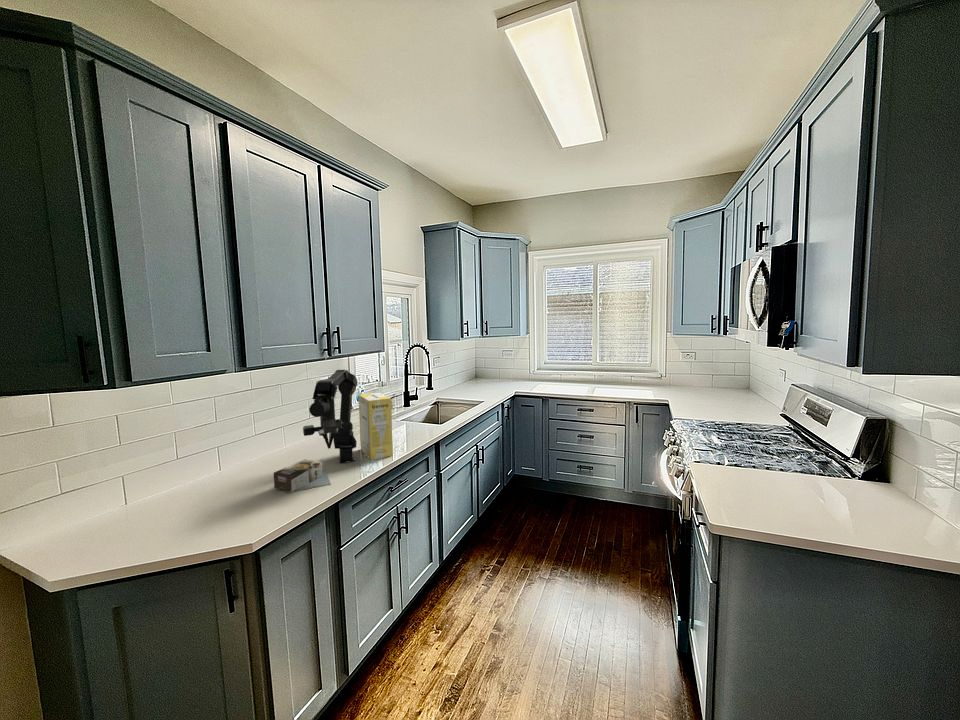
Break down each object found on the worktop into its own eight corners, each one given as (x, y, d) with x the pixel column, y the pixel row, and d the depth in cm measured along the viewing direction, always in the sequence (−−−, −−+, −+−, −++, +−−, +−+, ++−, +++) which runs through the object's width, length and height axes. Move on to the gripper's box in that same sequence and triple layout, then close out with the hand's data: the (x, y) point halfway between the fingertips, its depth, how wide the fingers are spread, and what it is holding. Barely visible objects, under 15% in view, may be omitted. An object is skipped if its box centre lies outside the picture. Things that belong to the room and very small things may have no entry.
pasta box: (360, 449, 201) (358, 394, 198) (381, 445, 206) (379, 392, 203) (371, 459, 185) (368, 400, 182) (392, 455, 191) (391, 398, 188)
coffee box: (322, 462, 164) (291, 476, 149) (322, 476, 165) (291, 492, 150) (304, 458, 167) (273, 472, 152) (304, 473, 168) (273, 488, 153)
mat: (284, 476, 166) (284, 475, 166) (325, 469, 173) (325, 469, 173) (285, 492, 150) (285, 492, 150) (330, 484, 157) (330, 483, 157)
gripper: (304, 418, 152) (306, 457, 153) (354, 412, 160) (356, 450, 162) (301, 412, 161) (303, 449, 163) (349, 407, 170) (351, 442, 172)
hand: (329, 448), depth 164 cm, fingers closed
